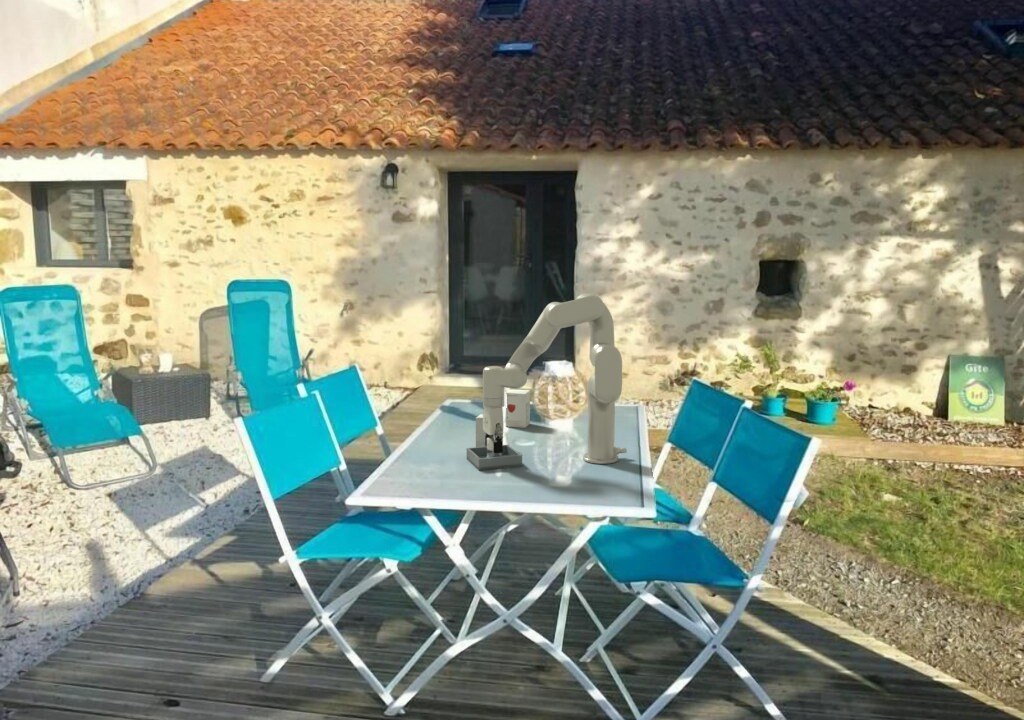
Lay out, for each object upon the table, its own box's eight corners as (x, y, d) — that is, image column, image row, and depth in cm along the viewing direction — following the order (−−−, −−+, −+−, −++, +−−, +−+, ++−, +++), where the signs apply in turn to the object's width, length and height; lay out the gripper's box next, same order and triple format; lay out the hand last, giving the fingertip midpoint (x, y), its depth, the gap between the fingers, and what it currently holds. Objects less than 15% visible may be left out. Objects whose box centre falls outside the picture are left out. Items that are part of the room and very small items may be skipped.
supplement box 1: (494, 451, 286) (494, 418, 284) (475, 450, 287) (474, 417, 286) (498, 446, 293) (498, 414, 291) (479, 445, 295) (479, 413, 293)
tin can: (498, 457, 274) (498, 435, 273) (503, 461, 269) (503, 438, 268) (485, 458, 272) (484, 436, 271) (489, 462, 268) (489, 440, 266)
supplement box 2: (505, 427, 326) (504, 392, 324) (510, 422, 334) (510, 388, 332) (525, 428, 324) (525, 393, 321) (530, 423, 332) (530, 389, 330)
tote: (507, 455, 281) (507, 444, 280) (522, 466, 266) (522, 455, 266) (466, 458, 276) (466, 448, 275) (478, 470, 261) (478, 459, 261)
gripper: (476, 398, 275) (476, 444, 277) (490, 407, 259) (491, 456, 261) (496, 396, 277) (496, 442, 280) (511, 405, 261) (511, 454, 263)
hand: (493, 449), depth 270 cm, fingers open, 9 cm apart
